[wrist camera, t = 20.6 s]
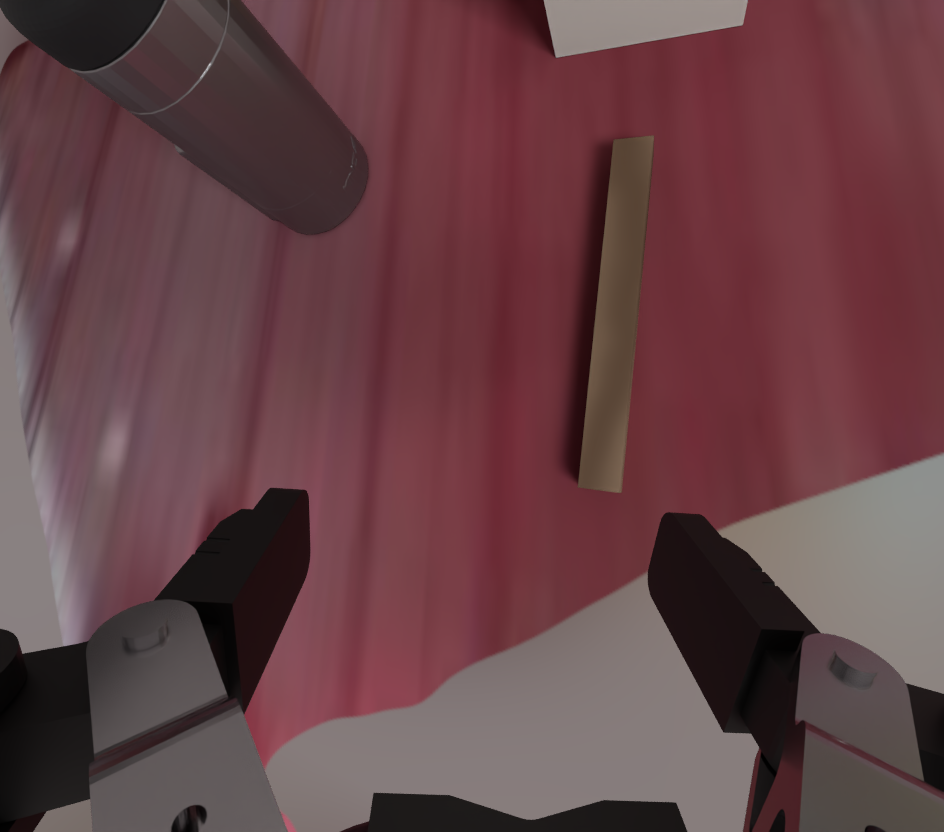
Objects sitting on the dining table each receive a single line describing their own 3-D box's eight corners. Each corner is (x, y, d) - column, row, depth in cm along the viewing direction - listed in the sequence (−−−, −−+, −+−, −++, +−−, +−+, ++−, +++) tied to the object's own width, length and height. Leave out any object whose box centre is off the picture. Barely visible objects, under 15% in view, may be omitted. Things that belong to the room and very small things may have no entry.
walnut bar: (582, 487, 31) (577, 487, 29) (615, 163, 33) (613, 139, 31) (621, 492, 30) (619, 492, 28) (653, 159, 32) (653, 135, 30)
